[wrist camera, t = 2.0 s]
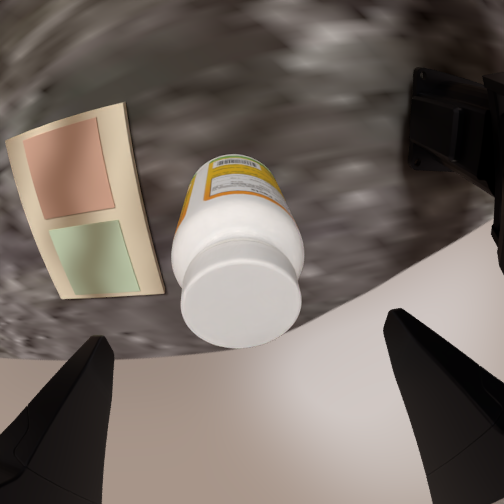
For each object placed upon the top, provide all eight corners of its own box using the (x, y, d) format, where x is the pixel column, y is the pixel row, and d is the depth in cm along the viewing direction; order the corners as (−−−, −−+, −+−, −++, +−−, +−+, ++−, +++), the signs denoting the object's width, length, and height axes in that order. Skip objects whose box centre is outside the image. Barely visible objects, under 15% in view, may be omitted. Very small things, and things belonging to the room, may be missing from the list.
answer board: (125, 102, 14) (122, 102, 14) (165, 288, 21) (164, 294, 21) (9, 138, 14) (4, 141, 13) (63, 295, 21) (61, 300, 20)
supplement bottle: (226, 250, 20) (230, 377, 12) (169, 190, 17) (125, 302, 9) (295, 202, 18) (349, 315, 10) (242, 133, 16) (261, 202, 8)
